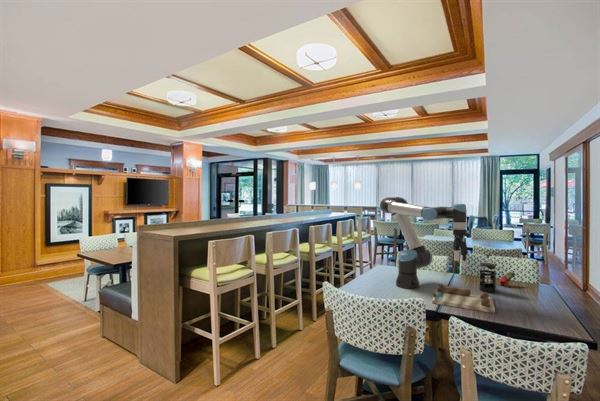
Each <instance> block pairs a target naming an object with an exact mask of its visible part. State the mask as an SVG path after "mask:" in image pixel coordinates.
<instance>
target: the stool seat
mask: <svg viewBox="0 0 600 401" xmlns="http://www.w3.org/2000/svg"><path fill="white" fill-rule="evenodd" d="M489 294H490V293H487V292H482V291H480V295H477V294H471V293H470V296H468V295H461V294H454V293H447V292H439V291H438V289H435V291H433V296H432V301H431V302H432V304H434V303H436V304H435V305H441V306H448V307H455V308H460V309H467V310H473V311H477V312H478V311H479V312H480V311H481V312H486V313H493V314H495V313H496V312H495V311H496V309H495V304H494V299H493V297H491V296H489Z"/></svg>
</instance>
